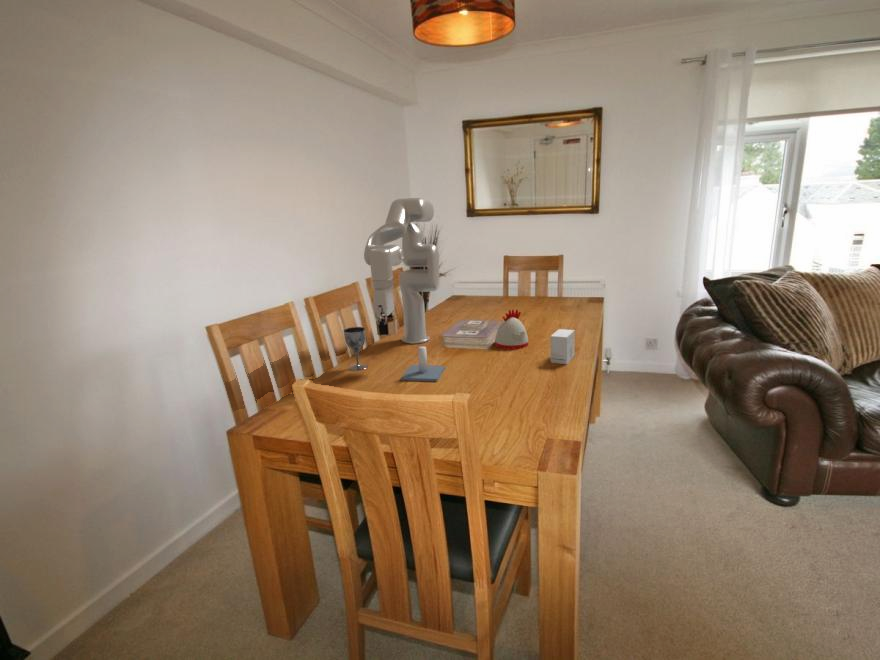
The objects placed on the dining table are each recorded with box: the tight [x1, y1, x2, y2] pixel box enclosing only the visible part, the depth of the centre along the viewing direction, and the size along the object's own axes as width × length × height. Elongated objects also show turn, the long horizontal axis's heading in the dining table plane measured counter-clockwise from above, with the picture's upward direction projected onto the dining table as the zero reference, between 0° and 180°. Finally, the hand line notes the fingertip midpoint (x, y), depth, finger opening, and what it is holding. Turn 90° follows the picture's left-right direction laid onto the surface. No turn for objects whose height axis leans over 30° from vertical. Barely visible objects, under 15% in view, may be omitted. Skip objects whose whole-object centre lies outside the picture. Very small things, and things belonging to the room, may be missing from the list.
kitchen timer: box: [494, 308, 529, 350], centre depth 194 cm, size 14×14×15 cm
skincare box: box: [550, 328, 576, 365], centre depth 173 cm, size 10×6×10 cm, turn 149°
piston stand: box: [400, 346, 446, 382], centre depth 165 cm, size 13×13×10 cm
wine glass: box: [343, 326, 368, 372], centre depth 175 cm, size 8×8×15 cm
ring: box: [376, 317, 399, 337], centre depth 169 cm, size 7×7×5 cm
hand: (387, 330), depth 170 cm, fingers closed on ring, 7 cm apart
